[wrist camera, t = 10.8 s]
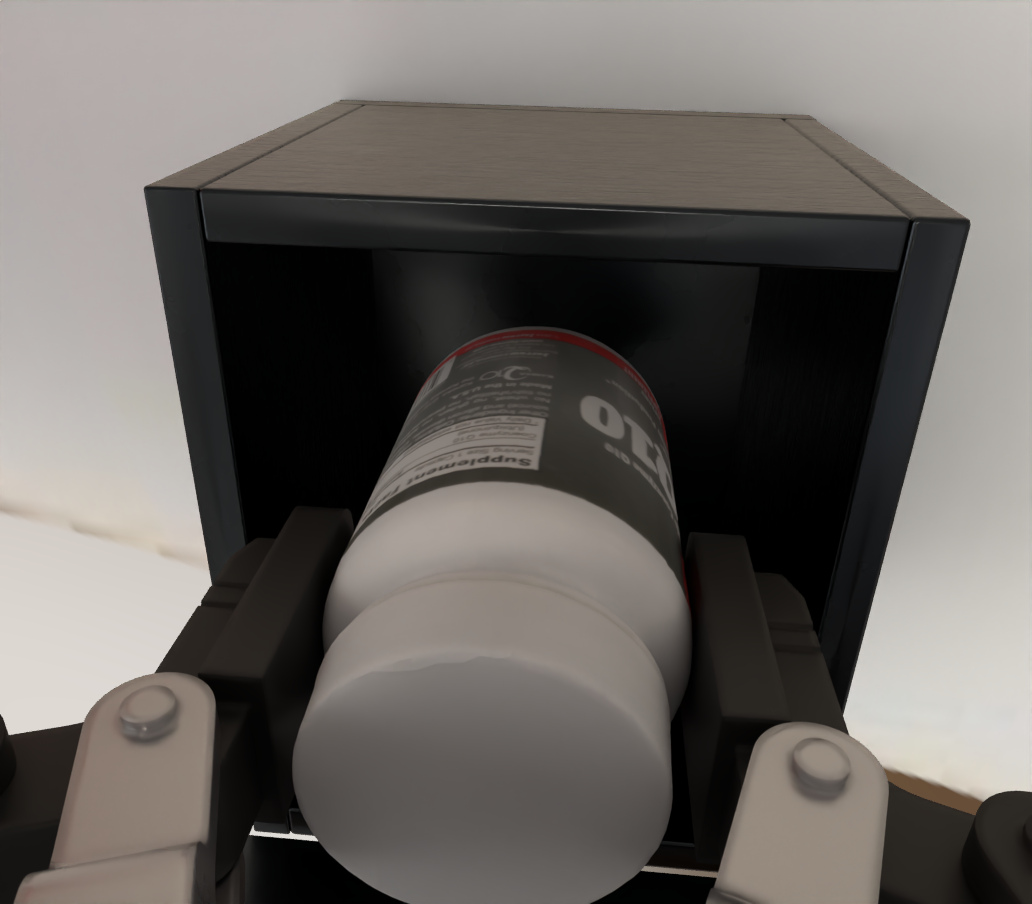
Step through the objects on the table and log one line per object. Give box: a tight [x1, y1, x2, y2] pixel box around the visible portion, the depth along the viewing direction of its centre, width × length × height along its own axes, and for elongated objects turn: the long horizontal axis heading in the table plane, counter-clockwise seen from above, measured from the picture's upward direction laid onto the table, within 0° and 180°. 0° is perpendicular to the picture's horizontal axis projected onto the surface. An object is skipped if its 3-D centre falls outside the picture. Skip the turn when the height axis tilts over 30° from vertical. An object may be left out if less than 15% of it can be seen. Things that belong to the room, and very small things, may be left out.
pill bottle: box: [292, 326, 693, 904], centre depth 13 cm, size 5×5×8 cm
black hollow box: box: [144, 100, 970, 872], centre depth 20 cm, size 14×12×11 cm
